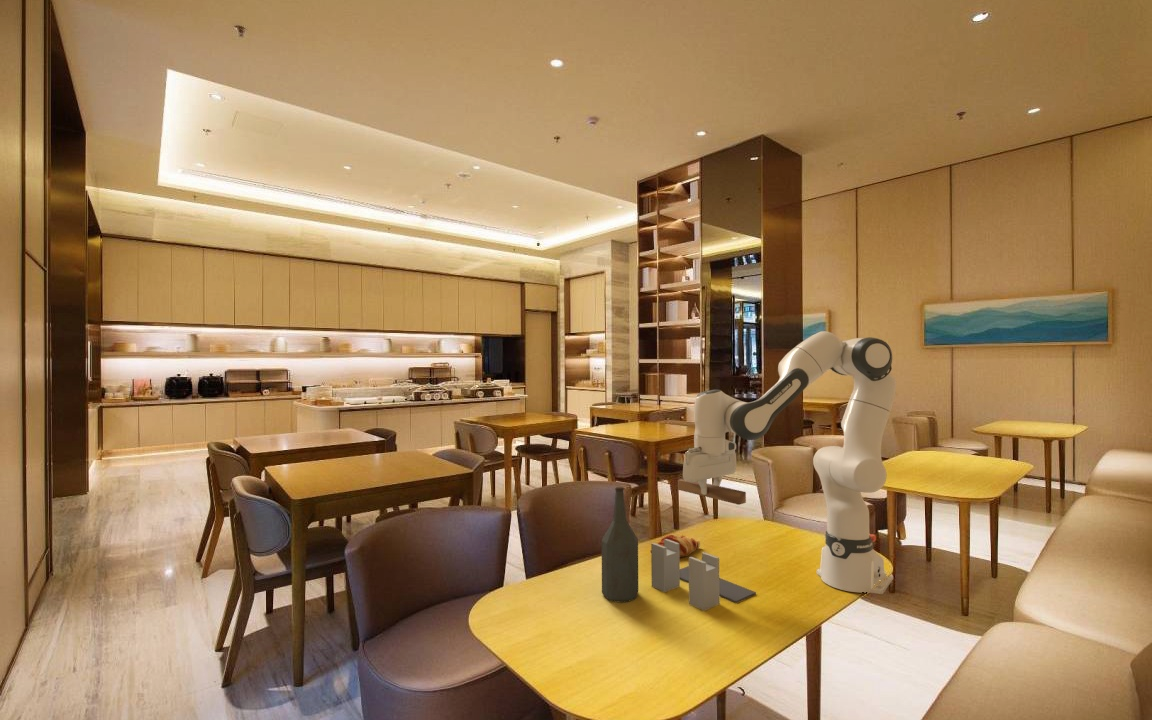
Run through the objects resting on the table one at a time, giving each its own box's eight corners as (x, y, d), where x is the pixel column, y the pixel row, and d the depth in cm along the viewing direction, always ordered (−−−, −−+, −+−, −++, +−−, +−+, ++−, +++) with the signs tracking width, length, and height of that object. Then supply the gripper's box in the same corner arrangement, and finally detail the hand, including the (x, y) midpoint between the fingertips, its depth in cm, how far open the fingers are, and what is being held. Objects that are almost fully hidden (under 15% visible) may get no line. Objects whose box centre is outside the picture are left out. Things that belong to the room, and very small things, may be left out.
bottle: (644, 599, 143) (644, 489, 143) (612, 605, 139) (612, 493, 139) (626, 584, 152) (626, 481, 153) (596, 590, 149) (595, 484, 149)
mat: (689, 567, 165) (689, 565, 165) (755, 594, 145) (755, 592, 145) (669, 574, 159) (669, 572, 159) (736, 603, 140) (736, 601, 140)
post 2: (704, 597, 144) (704, 552, 144) (719, 604, 140) (719, 557, 140) (689, 603, 140) (688, 557, 140) (703, 610, 136) (703, 563, 136)
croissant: (693, 555, 185) (686, 532, 188) (712, 549, 177) (704, 525, 181) (646, 566, 174) (639, 542, 177) (664, 560, 166) (657, 535, 170)
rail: (684, 488, 162) (684, 478, 162) (745, 502, 145) (745, 491, 145) (677, 489, 160) (677, 479, 160) (738, 504, 143) (738, 493, 143)
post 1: (666, 580, 155) (666, 538, 155) (679, 586, 151) (679, 543, 151) (651, 586, 151) (651, 543, 151) (664, 592, 147) (664, 548, 147)
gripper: (694, 450, 144) (695, 501, 144) (739, 443, 156) (740, 489, 156) (677, 447, 149) (677, 496, 149) (722, 441, 161) (722, 485, 161)
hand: (710, 492), depth 153 cm, fingers closed on rail, 3 cm apart
